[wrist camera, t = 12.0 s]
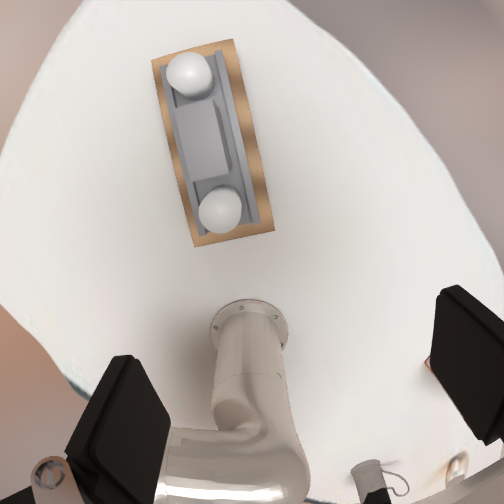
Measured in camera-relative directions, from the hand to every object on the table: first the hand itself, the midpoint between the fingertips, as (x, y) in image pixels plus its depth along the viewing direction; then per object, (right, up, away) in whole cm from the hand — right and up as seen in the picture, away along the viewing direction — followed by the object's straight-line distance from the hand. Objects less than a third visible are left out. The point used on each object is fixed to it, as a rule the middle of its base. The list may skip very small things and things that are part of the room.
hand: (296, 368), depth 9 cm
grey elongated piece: (-6, +16, +25) cm, 31 cm away
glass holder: (+33, -57, +58) cm, 88 cm away
